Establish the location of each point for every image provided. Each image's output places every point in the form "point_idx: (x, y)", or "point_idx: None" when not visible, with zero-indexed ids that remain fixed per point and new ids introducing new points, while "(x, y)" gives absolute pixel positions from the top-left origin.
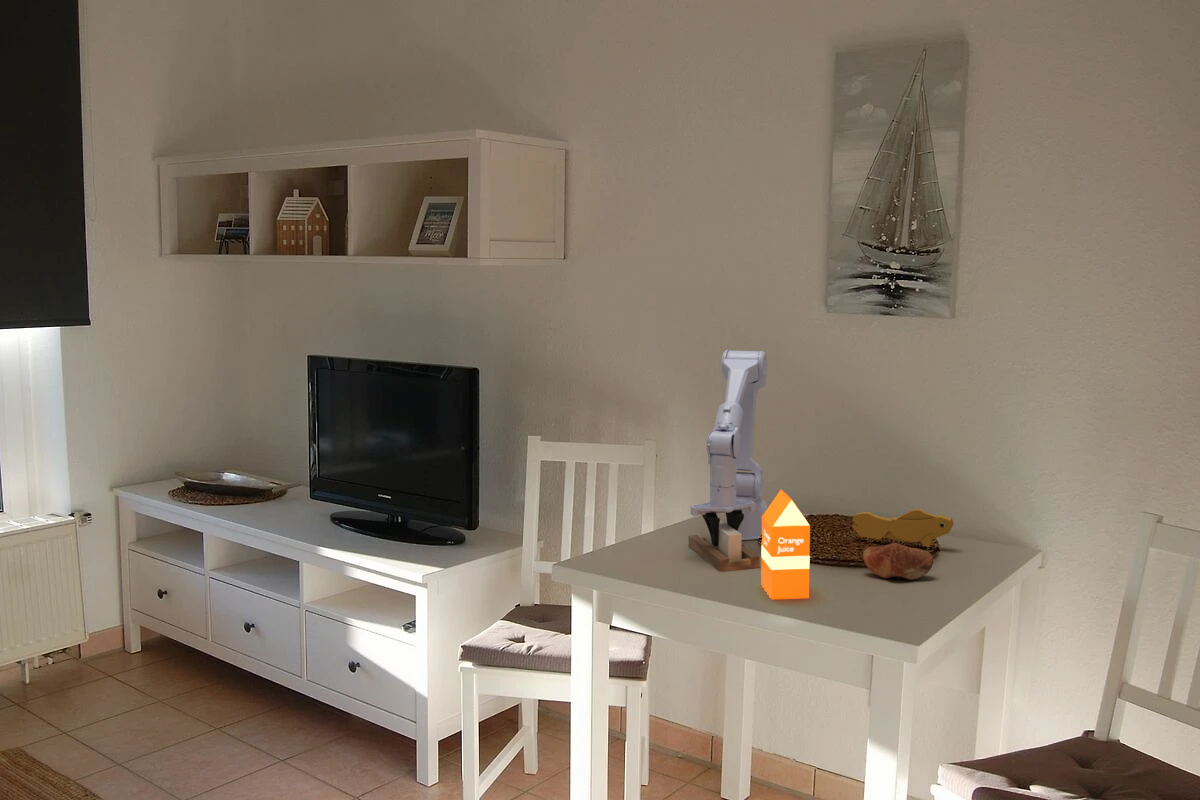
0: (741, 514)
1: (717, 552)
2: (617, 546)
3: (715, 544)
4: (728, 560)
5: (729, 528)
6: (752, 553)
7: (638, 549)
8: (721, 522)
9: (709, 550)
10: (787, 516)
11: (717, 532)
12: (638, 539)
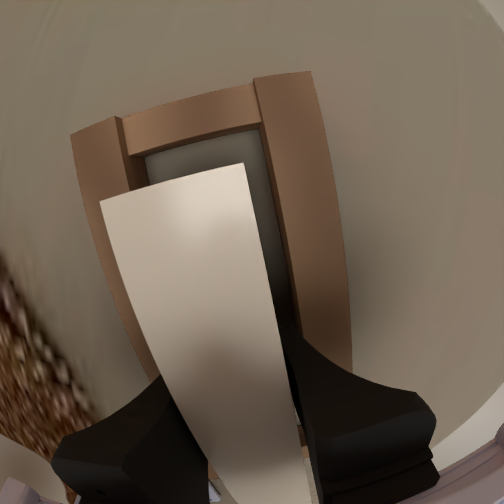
0: (70, 475)
1: (301, 225)
2: (492, 392)
3: (295, 329)
4: (257, 79)
5: (199, 392)
6: (95, 189)
7: (473, 380)
8: (240, 484)
9: (338, 268)
10: None
11: (300, 368)
12: (432, 446)
